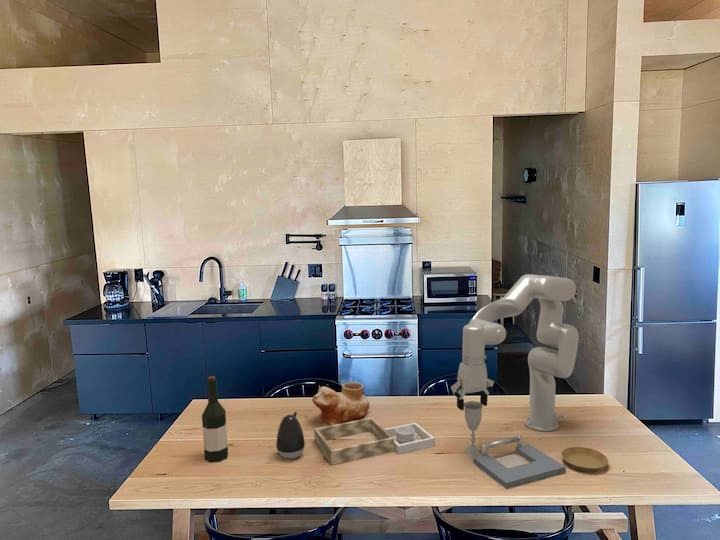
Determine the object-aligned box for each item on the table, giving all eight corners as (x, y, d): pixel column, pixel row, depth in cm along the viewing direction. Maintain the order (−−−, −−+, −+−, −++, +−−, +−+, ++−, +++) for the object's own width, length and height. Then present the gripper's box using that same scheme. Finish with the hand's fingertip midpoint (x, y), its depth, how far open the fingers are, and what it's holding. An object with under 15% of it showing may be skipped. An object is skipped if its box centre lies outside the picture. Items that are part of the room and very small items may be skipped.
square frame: (415, 429, 209) (415, 422, 209) (434, 445, 195) (434, 438, 195) (381, 437, 204) (380, 429, 203) (398, 454, 190) (398, 446, 189)
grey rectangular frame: (529, 449, 191) (529, 443, 191) (565, 472, 175) (565, 466, 174) (473, 462, 182) (473, 457, 182) (506, 488, 166) (506, 482, 166)
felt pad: (513, 454, 188) (513, 453, 188) (531, 466, 179) (531, 465, 179) (492, 459, 184) (492, 459, 184) (509, 471, 176) (509, 471, 176)
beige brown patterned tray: (372, 429, 210) (371, 417, 210) (394, 451, 192) (394, 438, 191) (314, 441, 201) (314, 428, 201) (331, 465, 183) (331, 451, 182)
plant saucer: (613, 476, 172) (614, 469, 172) (566, 473, 174) (566, 466, 174) (600, 454, 186) (601, 447, 186) (557, 452, 189) (557, 445, 188)
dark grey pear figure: (310, 450, 194) (308, 411, 192) (297, 464, 184) (296, 422, 182) (285, 446, 197) (283, 408, 195) (271, 460, 188) (269, 419, 185)
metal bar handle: (519, 450, 191) (519, 434, 190) (522, 452, 189) (522, 436, 188) (480, 459, 184) (480, 443, 184) (483, 461, 183) (483, 445, 182)
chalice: (482, 458, 185) (483, 409, 183) (463, 457, 186) (463, 408, 184) (482, 448, 192) (482, 401, 190) (463, 447, 194) (463, 400, 191)
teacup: (388, 445, 197) (388, 433, 196) (396, 434, 206) (396, 422, 206) (414, 449, 193) (414, 437, 193) (421, 437, 202) (421, 426, 202)
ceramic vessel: (306, 419, 221) (304, 385, 219) (358, 405, 235) (358, 373, 233) (322, 431, 209) (320, 395, 207) (376, 415, 224) (375, 381, 222)
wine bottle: (207, 465, 185) (201, 382, 181) (202, 455, 192) (197, 375, 188) (230, 459, 189) (226, 378, 185) (225, 449, 196) (220, 371, 192)
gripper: (487, 354, 191) (486, 399, 193) (446, 359, 185) (445, 406, 187) (500, 359, 184) (498, 406, 186) (458, 365, 178) (457, 414, 180)
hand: (472, 406), depth 187 cm, fingers open, 9 cm apart
